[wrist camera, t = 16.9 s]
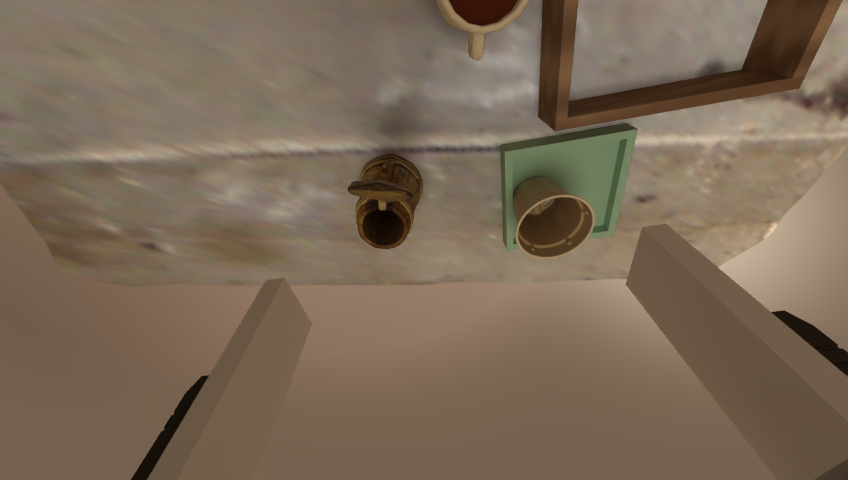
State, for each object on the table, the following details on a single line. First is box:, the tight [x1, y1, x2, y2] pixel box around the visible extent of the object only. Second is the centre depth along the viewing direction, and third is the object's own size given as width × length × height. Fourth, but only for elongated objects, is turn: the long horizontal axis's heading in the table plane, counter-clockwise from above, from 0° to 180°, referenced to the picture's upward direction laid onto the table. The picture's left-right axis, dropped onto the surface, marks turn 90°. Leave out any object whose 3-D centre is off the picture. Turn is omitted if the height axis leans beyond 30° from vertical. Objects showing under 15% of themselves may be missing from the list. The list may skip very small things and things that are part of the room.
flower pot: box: [513, 177, 595, 259], centre depth 41 cm, size 9×9×9 cm
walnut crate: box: [538, 0, 842, 131], centre depth 30 cm, size 18×24×6 cm
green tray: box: [501, 123, 638, 250], centre depth 44 cm, size 16×16×2 cm
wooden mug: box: [348, 155, 422, 249], centre depth 36 cm, size 9×14×18 cm, turn 174°
